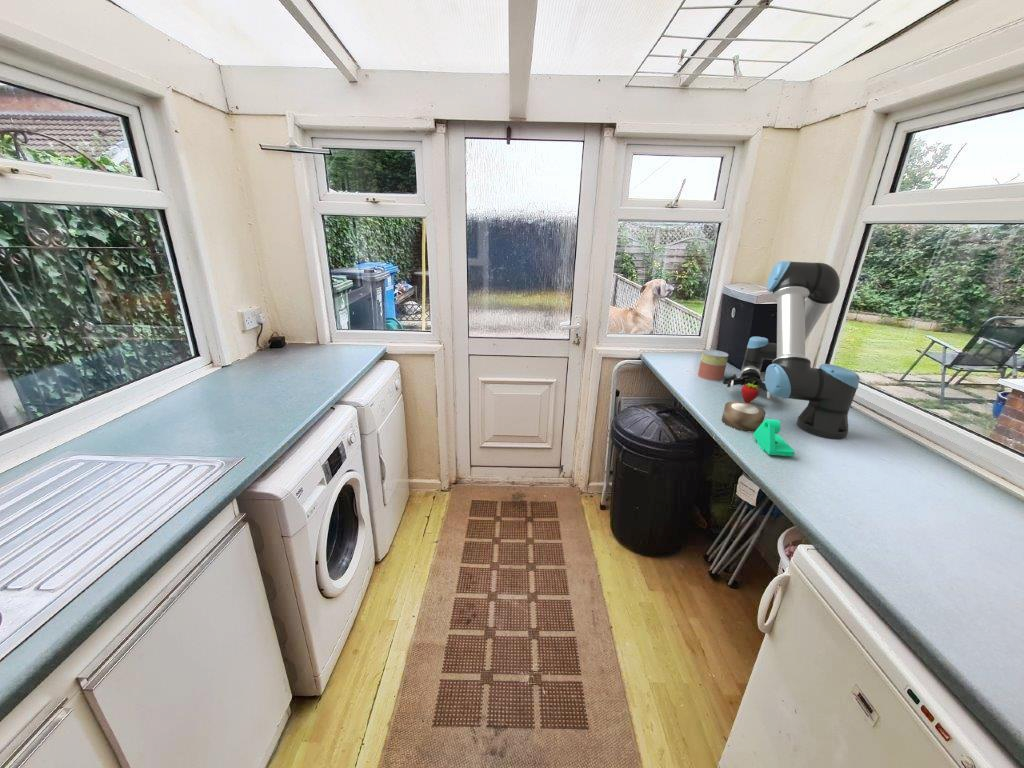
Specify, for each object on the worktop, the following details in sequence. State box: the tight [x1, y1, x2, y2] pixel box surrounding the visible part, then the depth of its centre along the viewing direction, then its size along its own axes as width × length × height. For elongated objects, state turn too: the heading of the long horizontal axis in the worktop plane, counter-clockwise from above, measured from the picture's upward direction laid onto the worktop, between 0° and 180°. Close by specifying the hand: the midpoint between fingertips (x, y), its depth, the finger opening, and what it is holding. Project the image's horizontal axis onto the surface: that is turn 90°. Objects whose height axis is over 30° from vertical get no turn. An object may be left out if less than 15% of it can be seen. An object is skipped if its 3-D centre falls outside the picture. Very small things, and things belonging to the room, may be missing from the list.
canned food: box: [697, 349, 730, 382], centre depth 198 cm, size 11×11×12 cm
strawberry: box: [740, 381, 760, 404], centre depth 169 cm, size 6×8×10 cm
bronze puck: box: [721, 400, 766, 432], centre depth 152 cm, size 13×13×6 cm
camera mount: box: [752, 418, 796, 457], centre depth 134 cm, size 12×8×10 cm, turn 173°
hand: (749, 391), depth 167 cm, fingers open, 13 cm apart
